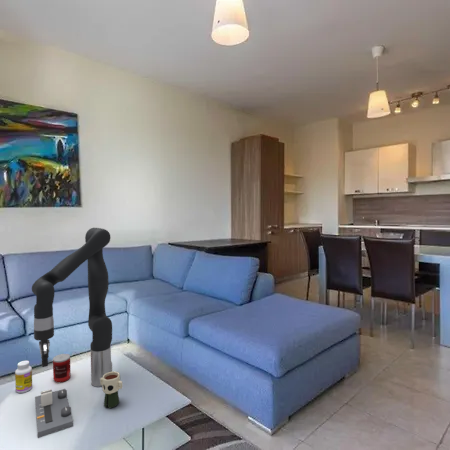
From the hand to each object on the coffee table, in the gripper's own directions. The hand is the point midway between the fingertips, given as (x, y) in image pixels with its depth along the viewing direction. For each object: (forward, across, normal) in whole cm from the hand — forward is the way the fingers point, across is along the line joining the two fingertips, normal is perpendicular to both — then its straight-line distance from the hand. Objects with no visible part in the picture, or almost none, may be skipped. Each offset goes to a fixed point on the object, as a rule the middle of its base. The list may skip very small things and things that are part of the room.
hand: (44, 365), depth 139 cm
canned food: (+17, +18, -8) cm, 27 cm away
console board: (+17, -8, -2) cm, 19 cm away
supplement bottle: (+17, +18, +8) cm, 26 cm away
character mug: (+17, -16, -24) cm, 33 cm away
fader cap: (+14, -4, 0) cm, 15 cm away
